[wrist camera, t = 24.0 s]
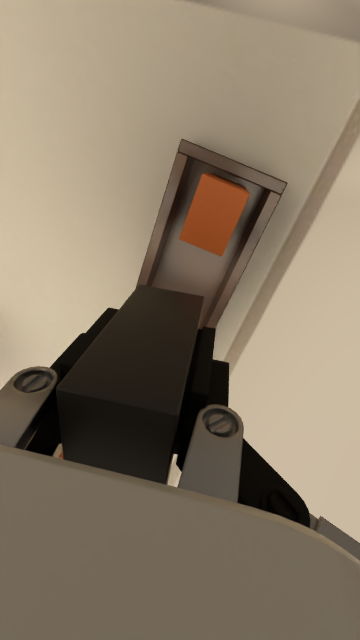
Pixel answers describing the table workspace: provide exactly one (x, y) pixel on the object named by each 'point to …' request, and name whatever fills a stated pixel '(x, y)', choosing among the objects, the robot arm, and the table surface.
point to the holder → (193, 262)
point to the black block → (132, 386)
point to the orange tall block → (214, 213)
